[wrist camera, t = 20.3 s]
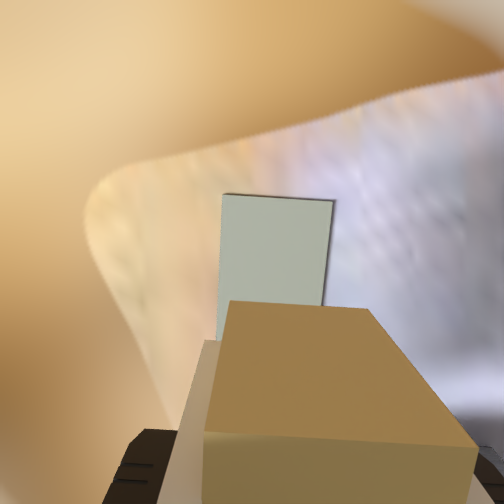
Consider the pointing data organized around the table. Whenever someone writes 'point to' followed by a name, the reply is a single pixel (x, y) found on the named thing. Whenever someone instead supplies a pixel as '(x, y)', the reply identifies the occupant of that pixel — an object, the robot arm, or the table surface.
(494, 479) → the robot arm
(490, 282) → the table surface
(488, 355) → the table surface
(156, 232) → the table surface
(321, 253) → the mat
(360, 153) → the table surface
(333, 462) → the two-tone upright block
